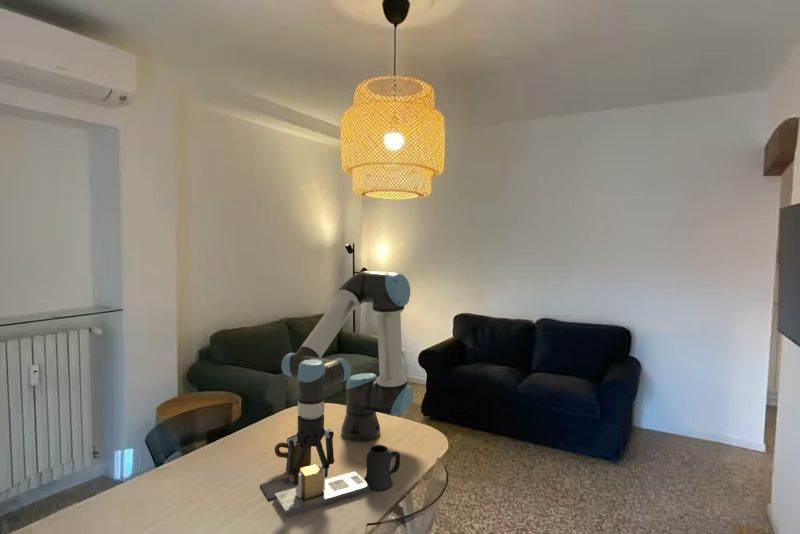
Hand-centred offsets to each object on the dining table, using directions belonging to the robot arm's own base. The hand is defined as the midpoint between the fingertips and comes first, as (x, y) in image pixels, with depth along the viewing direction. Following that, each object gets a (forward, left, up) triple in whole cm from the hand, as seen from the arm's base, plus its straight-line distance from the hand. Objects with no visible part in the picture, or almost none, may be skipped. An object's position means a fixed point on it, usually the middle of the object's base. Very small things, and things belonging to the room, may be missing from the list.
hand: (310, 491), depth 136 cm
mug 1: (-2, -21, -3) cm, 21 cm away
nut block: (0, 0, -3) cm, 3 cm away
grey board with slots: (-4, 0, -2) cm, 5 cm away
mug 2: (-23, +2, -3) cm, 23 cm away
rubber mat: (+6, -10, -2) cm, 12 cm away
